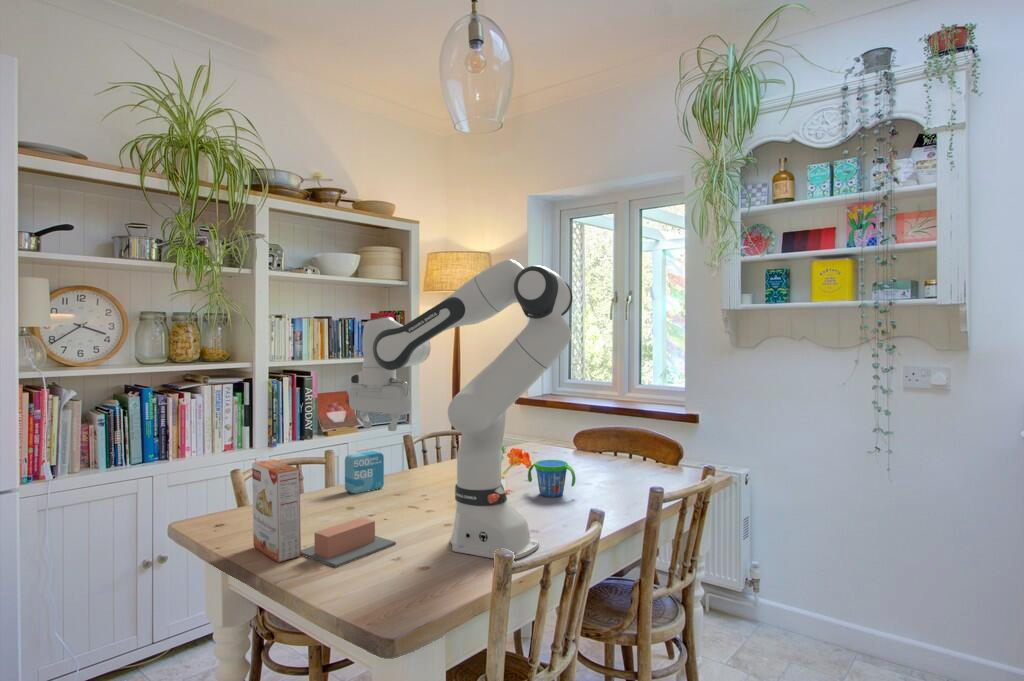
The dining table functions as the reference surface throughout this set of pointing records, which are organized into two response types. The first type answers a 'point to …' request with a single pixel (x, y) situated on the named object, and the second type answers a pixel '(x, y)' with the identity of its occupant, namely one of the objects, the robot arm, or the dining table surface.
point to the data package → (364, 471)
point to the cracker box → (276, 509)
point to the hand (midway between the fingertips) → (379, 429)
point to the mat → (350, 552)
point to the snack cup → (551, 476)
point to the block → (344, 537)
